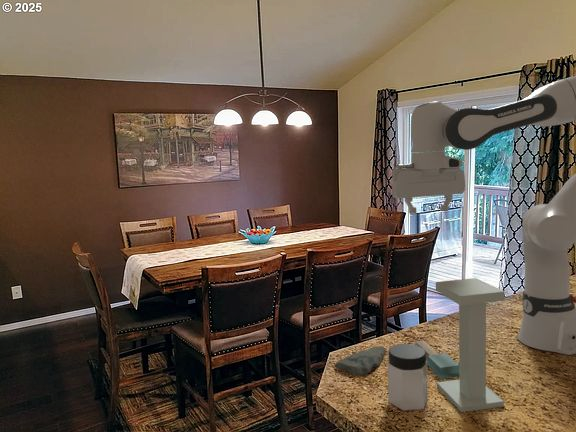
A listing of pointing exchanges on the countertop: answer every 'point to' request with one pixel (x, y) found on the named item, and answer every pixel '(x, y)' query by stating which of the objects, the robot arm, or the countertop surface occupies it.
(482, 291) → the shelf stand
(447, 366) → the mallet
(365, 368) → the stone
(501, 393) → the countertop surface
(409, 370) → the jar
